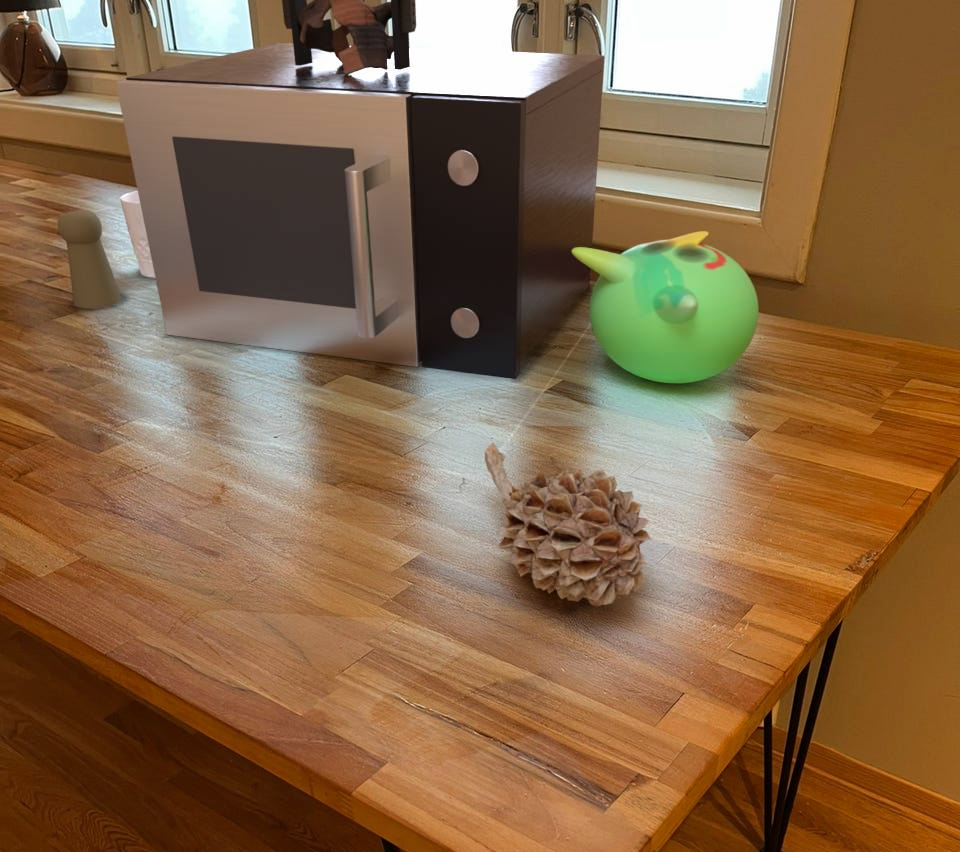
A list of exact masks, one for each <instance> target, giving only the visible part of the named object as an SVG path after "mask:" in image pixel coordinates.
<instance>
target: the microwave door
mask: <svg viewBox="0 0 960 852" xmlns="http://www.w3.org/2000/svg"><path fill="white" fill-rule="evenodd" d="M115 86H116V91H117V96H118V101H119V105H120V106H119V107H120V111H121V117H122V120H123V125H124V132H125V135H126V140H127V145H128V151H129V155H130V161H131V165H132V169H133V174H134V180H135V185H136V191H138V195H139V200H140V204H141V209H142V214H143V219H144V224H145V229H146V234H147V239H148V244H149V249H150V253H151V258H152V263H153V268H154V273H155V283H156V288H157V293H158V296H159V302H160V307H161V312H162V317H163V322H164V326H165V332H166V334H167V336H173V337H181V338H190V339H198V340H204V341H206V340H207V341H212V342H221V343H229V344H235V345H236V344H237V345H245V346H252V347H260V348H267V349H274V350H283V351H290V352H296V353H297V352H298V353H305V354H314V355H322V356H327V357H329V356H330V357H338V358H345V359H354V360H359V361H368V362H375V363H384V364H390V365H391V364H392V365H399V366H400V365H401V366H405V367H415V368H418V367H419V366H420V365H422V355H421V331H420V307H419V283H418V259H417V235H416V211H415V187H414V163H413V138H412V114H411V97H412V96H411V94H395V93H375V92H355V91H335V90H315V89H295V88H275V87H256V86H236V85H216V84H196V83H176V82H156V81H137V80H126V79H123V80H119V81H115Z"/></svg>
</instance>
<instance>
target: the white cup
mask: <svg viewBox="0 0 960 852" xmlns="http://www.w3.org/2000/svg"><path fill="white" fill-rule="evenodd" d="M119 200H120V205H121V208H122V212H123V216H124V220H125V225H126V228H127V232H128V234H129V238H130V242H131V245H132V249H133V253H134V254H135V257H136V261H137V265H138V268H139V269H138V270H139V272H140V274H141V276H144V277H147V278H153V279H154V278H155V273H154V268H153V263H152V258H151V253H150V249H149V244H148V239H147V234H146V229H145V224H144V219H143V214H142V209H141V204H140V200H139V195H138V190H134V191H130V192H127V193H124V194H122V195H121V196H120V197H119ZM155 279H156V278H155Z"/></svg>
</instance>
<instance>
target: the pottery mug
mask: <svg viewBox="0 0 960 852" xmlns="http://www.w3.org/2000/svg"><path fill="white" fill-rule="evenodd" d="M330 10H331V11H332V15H333V19H334V20H335V21H336V23H338V24H339V27H337V28H335V29H333V24H332V19H331V18H326V19H325V17H326V15H327V14H328V12H329V11H330ZM389 20H392V13H391V1H386V2H383V3H381V4H378V5H375V6H371V5H369V4H368V3H366V2H365V1H364V0H312V1H310V2H309V3H307V5H306V6H305V7H304V8H303V10H302V12H301V13H300V15H299V22H300V24H301V26H302V31H301V36H300V40H301V42H302V43H303V44H304V45H306V47H307V48H309V49H318V50H321V51H325V52H329V53H332V52H334V53H335V56H336V57H337V58H338V59H339V61H340V62H341V63H342V65H343V68H344V71H345V74H346V75H349V74H351V73H354V72H358V71H360V70H363V69H366V68H375V69H378V68H381V69H384V70H387V69H388V61H387V59H388V60H390V59H391V57H392V54H393V35H389V34H387V32H386V28H387V25H388V22H389ZM348 35H350V36H351V38H352V42H353V44H352V45H350V43H349V40H348V37H347V36H348ZM350 46H351V47H350Z"/></svg>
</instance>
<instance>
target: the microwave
mask: <svg viewBox="0 0 960 852" xmlns="http://www.w3.org/2000/svg"><path fill="white" fill-rule="evenodd" d="M349 46H350V47H351V46H352V45H349ZM409 50H410V67H408V68H405V69H402V70H394V53H393V54H392V57H391V59H390V60H388V59H387V61H388V69H387V70H384V69H381V68H378V69H375V68H366V69H363V70H360V71H358V72H354V73H351V74H349V75H346V74H345V71H344V68H343V65H342V63H341V62H340V61H339V59H338V58H337V57H336V56H335V53H334V52H332V53H329V52H325V51H321V50H318V49H311V52H312V63H309V64H306V65H302V66H298V65H295V57H294V47H293V43H281V42H280V43H278V42H276V43H271V44H266V45H262V46H258V47H254V48H249V49H245V50H241V51H236V52H233V53H228V54H223V55H219V56H215V57H210V58H206V59H201V60H197V61H193V62H188V63H184V64H180V65H176V66H172V67H166V68H163V69H159V70H154V71H150V72H144V73H141V74H137V75H132V76H128V77H125V80H137V81H156V82H176V83H196V84H216V85H236V86H256V87H275V88H295V89H315V90H335V91H355V92H375V93H395V94H411V96H412V97H411V114H412V138H413V163H414V187H415V211H416V235H417V259H418V283H419V307H420V331H421V355H422V363H421V367H425V368H432V369H439V370H440V369H441V370H448V371H455V372H463V373H472V374H480V375H486V376H487V375H488V376H496V377H504V378H510V379H511V378H512V379H516V378H517V377H518V375H520V374H521V373H522V372H523V370H524V369H525V368H526V366H528V364H529V363H530V361H532V359H533V358H534V357H535V355H536V354H537V353H538V351H539V350H540V349H541V348H542V346H543V345H544V343H546V341H547V340H548V339H549V337H550V336H551V335H552V334H553V332H554V331H555V330H556V328H557V327H558V326H559V325H560V323H561V322H562V321H563V320H564V318H565V317H566V316H567V315H568V313H569V312H570V311H571V310H572V308H573V307H574V306H575V305H576V303H577V302H578V301H579V299H580V298H581V297H582V296H583V295H584V293H585V292H586V291H587V289H588V288H589V287H590V285H591V270H592V269H591V268H590V267H588V266H587V265H585V264H584V263H582V262H581V261H580V260H578V259H577V258H576V257H575V256H574V255H573V254H572V249H573V248H576V247H586V248H592V249H593V239H594V223H595V222H594V221H595V207H596V193H597V191H596V190H597V177H598V176H597V175H598V164H599V163H598V162H599V161H598V160H599V145H600V131H601V129H600V128H601V116H602V115H601V114H602V100H603V85H604V83H603V82H604V69H605V67H604V66H605V65H604V64H605V55H601V54H600V55H599V54H576V53H575V54H573V53H552V52H551V53H546V52H522V51H492V50H470V49H469V50H468V49H467V50H465V49H444V48H443V49H442V48H441V49H440V48H417V47H416V48H415V47H414V48H412V47H409Z"/></svg>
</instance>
